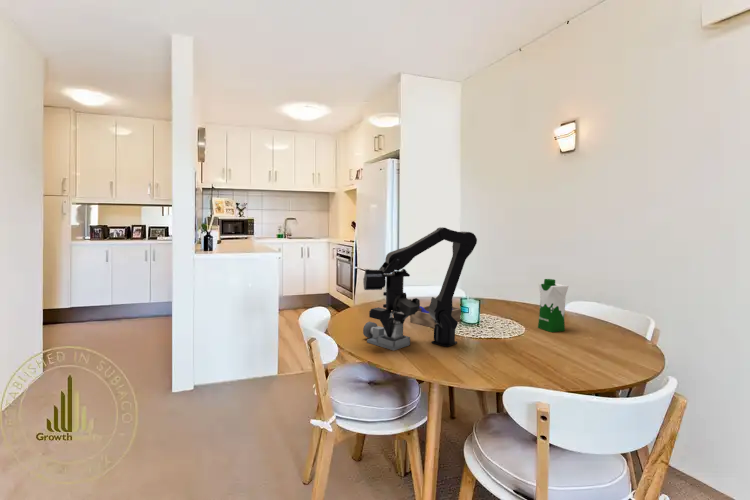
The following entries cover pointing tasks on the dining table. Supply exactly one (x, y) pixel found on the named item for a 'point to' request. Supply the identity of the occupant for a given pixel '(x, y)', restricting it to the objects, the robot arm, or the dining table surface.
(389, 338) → the block
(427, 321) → the toy corral
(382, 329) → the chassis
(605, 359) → the dining table surface
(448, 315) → the robot arm
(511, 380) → the dining table surface
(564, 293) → the milk carton
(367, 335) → the wheel
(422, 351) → the dining table surface
